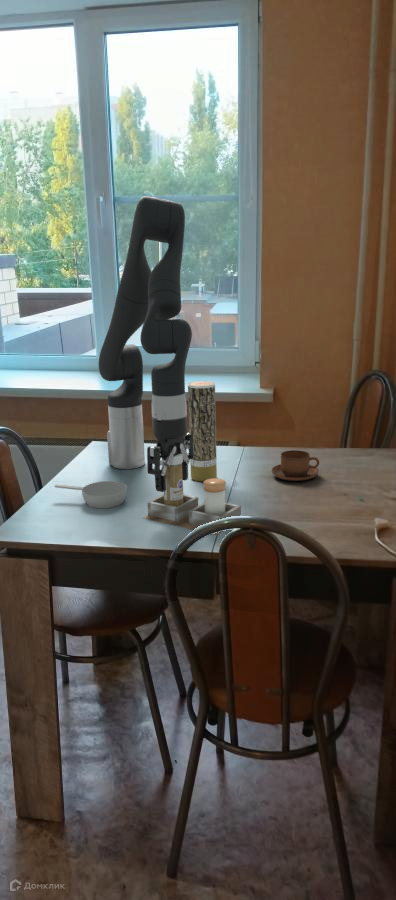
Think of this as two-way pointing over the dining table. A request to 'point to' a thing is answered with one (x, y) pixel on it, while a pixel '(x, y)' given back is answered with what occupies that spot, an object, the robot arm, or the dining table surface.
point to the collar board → (186, 512)
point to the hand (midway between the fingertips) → (172, 485)
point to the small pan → (101, 493)
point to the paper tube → (202, 429)
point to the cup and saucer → (295, 466)
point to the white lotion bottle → (214, 496)
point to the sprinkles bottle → (174, 482)
